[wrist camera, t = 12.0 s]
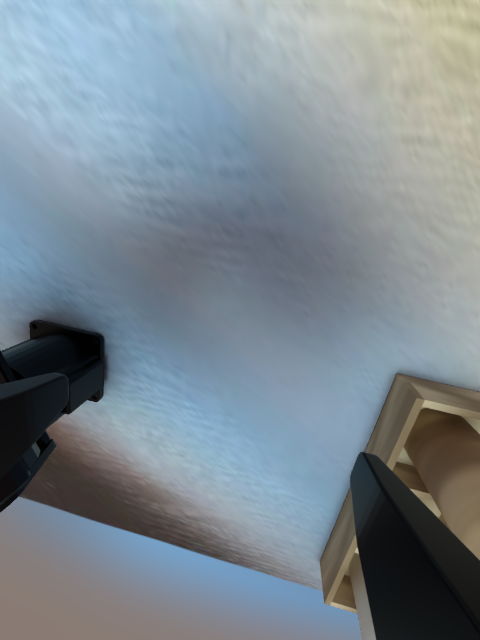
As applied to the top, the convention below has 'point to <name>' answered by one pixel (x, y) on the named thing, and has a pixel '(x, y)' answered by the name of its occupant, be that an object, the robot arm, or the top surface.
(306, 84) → the top surface
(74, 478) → the top surface
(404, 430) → the caddy
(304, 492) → the top surface
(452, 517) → the pepper mill
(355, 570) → the salt mill
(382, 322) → the top surface
